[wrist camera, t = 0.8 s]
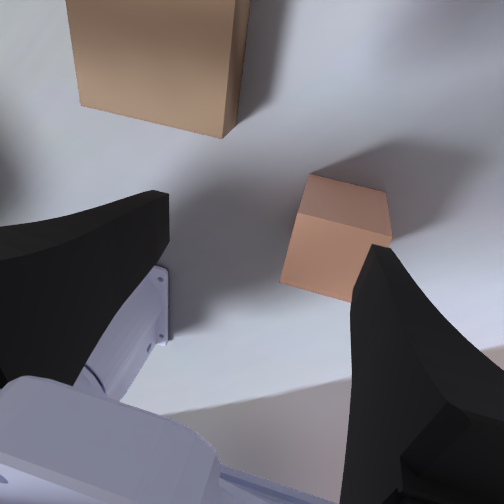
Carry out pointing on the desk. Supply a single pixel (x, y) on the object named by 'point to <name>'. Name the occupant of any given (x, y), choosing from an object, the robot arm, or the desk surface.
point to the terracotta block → (334, 236)
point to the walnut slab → (161, 60)
